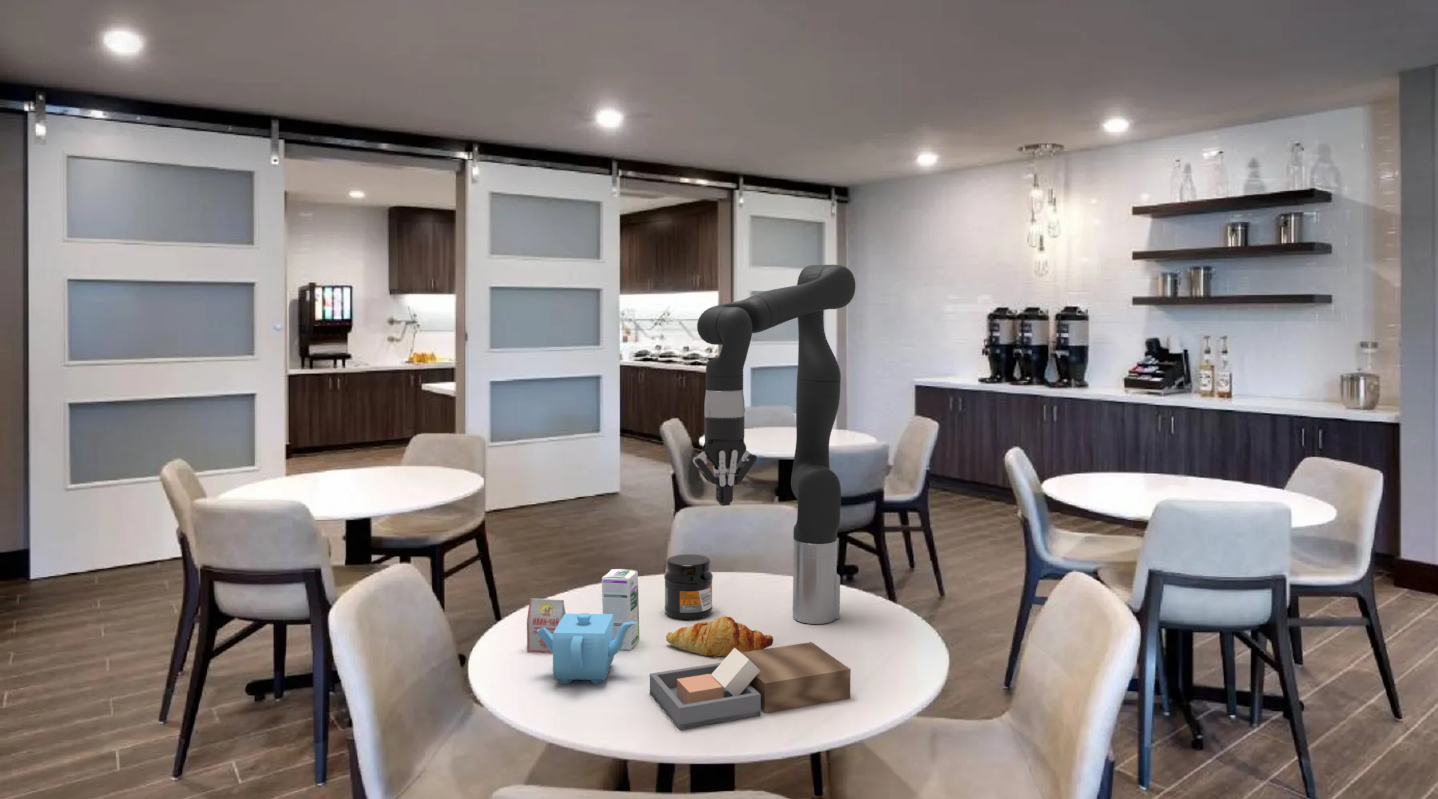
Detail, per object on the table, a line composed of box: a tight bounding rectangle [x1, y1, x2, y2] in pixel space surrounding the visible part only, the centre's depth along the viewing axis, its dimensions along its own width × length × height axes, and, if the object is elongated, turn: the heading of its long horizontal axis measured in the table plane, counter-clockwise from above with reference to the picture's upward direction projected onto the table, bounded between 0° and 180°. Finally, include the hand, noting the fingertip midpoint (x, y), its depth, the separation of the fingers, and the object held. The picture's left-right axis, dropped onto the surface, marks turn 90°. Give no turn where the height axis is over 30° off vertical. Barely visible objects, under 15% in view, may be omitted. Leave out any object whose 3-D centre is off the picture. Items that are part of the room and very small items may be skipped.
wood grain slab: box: [742, 641, 852, 714], centre depth 158 cm, size 16×14×5 cm
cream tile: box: [711, 648, 760, 696], centre depth 153 cm, size 6×6×3 cm
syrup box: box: [601, 568, 640, 651], centre depth 179 cm, size 6×6×14 cm
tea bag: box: [526, 598, 567, 654], centre depth 177 cm, size 4×7×10 cm, turn 81°
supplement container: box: [663, 553, 714, 621], centre depth 198 cm, size 10×10×12 cm
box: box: [649, 662, 762, 731], centre depth 152 cm, size 14×15×4 cm
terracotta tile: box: [677, 674, 724, 705], centre depth 152 cm, size 6×6×3 cm
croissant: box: [665, 615, 774, 657], centre depth 177 cm, size 21×10×8 cm
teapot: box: [537, 612, 637, 685], centre depth 164 cm, size 16×18×11 cm
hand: (724, 504), depth 173 cm, fingers closed
